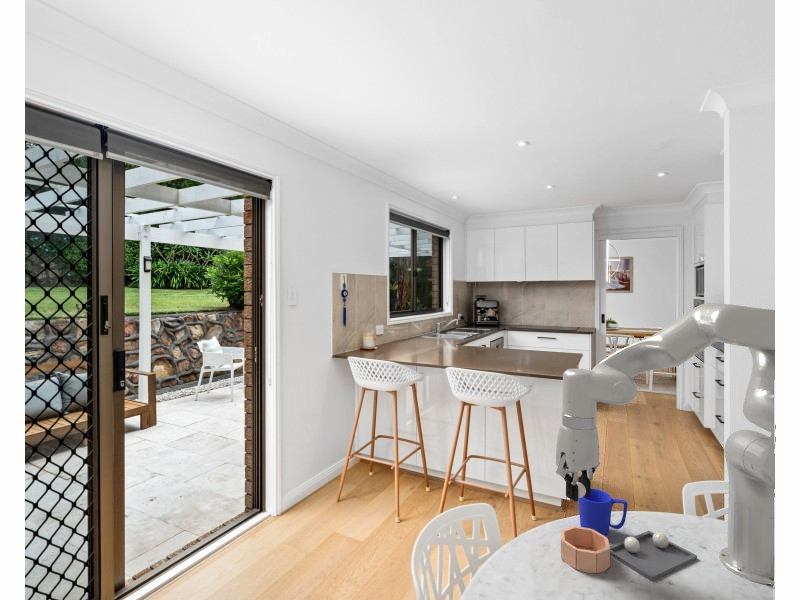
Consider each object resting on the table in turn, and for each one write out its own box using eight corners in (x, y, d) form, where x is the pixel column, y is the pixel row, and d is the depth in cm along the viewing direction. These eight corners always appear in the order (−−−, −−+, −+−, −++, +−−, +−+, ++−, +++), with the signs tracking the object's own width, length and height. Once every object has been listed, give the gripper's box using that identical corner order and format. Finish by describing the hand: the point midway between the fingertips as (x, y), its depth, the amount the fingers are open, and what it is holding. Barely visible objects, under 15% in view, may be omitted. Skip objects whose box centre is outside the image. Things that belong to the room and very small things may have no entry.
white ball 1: (577, 492, 107) (577, 478, 107) (589, 498, 104) (589, 484, 103) (567, 495, 105) (567, 481, 105) (578, 501, 102) (578, 487, 102)
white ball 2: (630, 545, 109) (630, 532, 109) (643, 553, 106) (643, 539, 106) (620, 549, 108) (621, 535, 107) (634, 557, 104) (634, 543, 104)
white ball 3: (658, 541, 111) (658, 528, 111) (671, 548, 108) (671, 535, 108) (649, 545, 109) (649, 531, 109) (663, 552, 106) (663, 538, 106)
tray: (648, 534, 114) (648, 530, 114) (697, 560, 104) (697, 555, 104) (604, 553, 107) (604, 548, 107) (651, 582, 96) (651, 577, 96)
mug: (631, 544, 110) (632, 505, 110) (581, 539, 113) (581, 501, 112) (622, 526, 118) (622, 490, 118) (575, 522, 121) (575, 486, 120)
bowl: (581, 542, 111) (582, 522, 111) (618, 565, 102) (619, 544, 102) (551, 553, 107) (551, 533, 107) (587, 579, 97) (587, 557, 97)
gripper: (590, 412, 111) (589, 483, 111) (541, 421, 103) (540, 497, 104) (616, 420, 104) (615, 496, 105) (566, 431, 97) (565, 512, 97)
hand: (578, 496), depth 104 cm, fingers closed on white ball 1, 3 cm apart
